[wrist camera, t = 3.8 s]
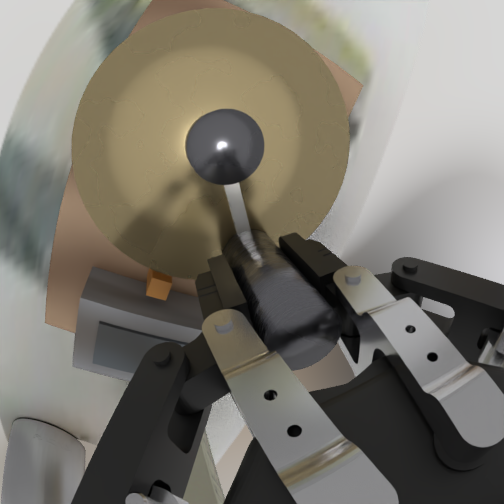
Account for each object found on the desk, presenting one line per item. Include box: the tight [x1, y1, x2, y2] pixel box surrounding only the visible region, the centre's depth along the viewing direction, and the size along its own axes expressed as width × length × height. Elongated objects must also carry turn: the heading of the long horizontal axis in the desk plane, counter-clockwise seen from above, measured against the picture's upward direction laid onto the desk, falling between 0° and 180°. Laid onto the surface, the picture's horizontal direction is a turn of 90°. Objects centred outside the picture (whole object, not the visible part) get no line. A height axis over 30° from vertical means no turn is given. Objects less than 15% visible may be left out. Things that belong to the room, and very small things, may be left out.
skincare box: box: [183, 430, 225, 504], centre depth 15 cm, size 6×4×12 cm
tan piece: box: [45, 0, 363, 381], centre depth 13 cm, size 20×12×5 cm, turn 153°
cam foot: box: [72, 8, 350, 371], centre depth 9 cm, size 12×12×8 cm
